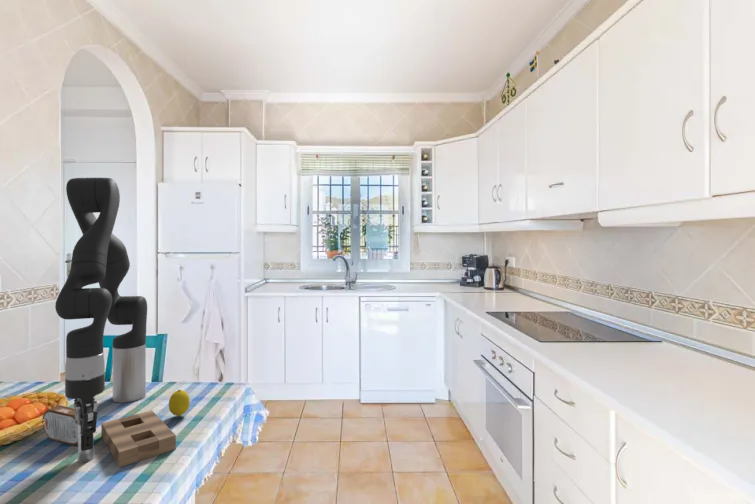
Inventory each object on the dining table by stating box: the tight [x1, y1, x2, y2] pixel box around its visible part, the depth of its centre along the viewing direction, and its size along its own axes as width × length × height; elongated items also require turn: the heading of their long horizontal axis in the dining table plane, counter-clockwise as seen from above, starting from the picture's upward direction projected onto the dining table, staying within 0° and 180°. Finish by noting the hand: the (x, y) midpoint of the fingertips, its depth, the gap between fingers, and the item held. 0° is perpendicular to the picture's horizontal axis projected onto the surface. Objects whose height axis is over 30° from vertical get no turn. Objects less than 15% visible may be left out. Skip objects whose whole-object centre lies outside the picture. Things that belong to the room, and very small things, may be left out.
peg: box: [77, 419, 94, 464], centre depth 95 cm, size 3×3×10 cm
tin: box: [42, 404, 78, 446], centre depth 104 cm, size 15×3×8 cm, turn 71°
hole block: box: [100, 410, 177, 468], centre depth 103 cm, size 20×12×4 cm, turn 44°
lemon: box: [168, 389, 191, 418], centre depth 119 cm, size 6×6×8 cm
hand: (85, 446), depth 95 cm, fingers closed on peg, 3 cm apart
